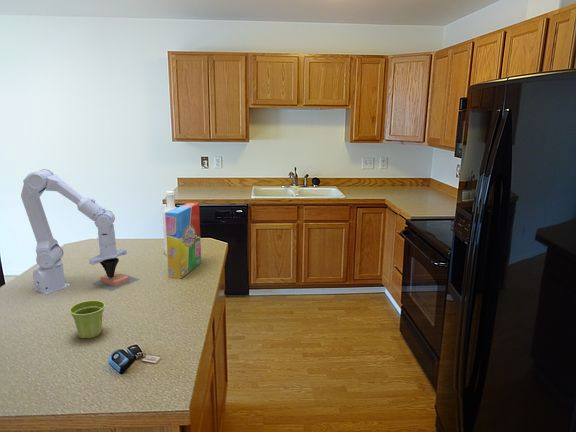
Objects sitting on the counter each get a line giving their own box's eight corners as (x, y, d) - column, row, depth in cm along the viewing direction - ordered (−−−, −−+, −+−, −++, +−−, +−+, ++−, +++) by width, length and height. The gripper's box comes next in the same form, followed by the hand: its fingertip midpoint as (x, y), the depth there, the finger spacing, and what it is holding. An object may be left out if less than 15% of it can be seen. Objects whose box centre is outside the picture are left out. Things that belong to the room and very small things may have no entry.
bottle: (164, 251, 193) (160, 190, 186) (181, 250, 196) (178, 189, 188) (165, 257, 186) (161, 193, 179) (182, 255, 188) (179, 192, 181)
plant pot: (98, 322, 126) (95, 297, 124) (113, 332, 120) (111, 306, 118) (67, 334, 119) (63, 307, 117) (81, 345, 113) (78, 317, 111)
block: (115, 282, 151) (128, 276, 156) (100, 277, 156) (114, 272, 161) (115, 286, 152) (129, 281, 157) (101, 281, 156) (114, 276, 161)
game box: (180, 279, 160) (177, 213, 154) (168, 278, 161) (163, 212, 155) (201, 262, 180) (199, 202, 174) (190, 261, 181) (187, 202, 175)
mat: (110, 291, 148) (110, 290, 148) (91, 284, 154) (91, 283, 154) (139, 280, 159) (139, 279, 159) (120, 273, 165) (120, 273, 165)
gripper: (96, 250, 143) (100, 285, 146) (130, 240, 155) (133, 273, 158) (84, 246, 147) (88, 281, 150) (118, 237, 159) (121, 269, 162)
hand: (110, 277), depth 154 cm, fingers closed
